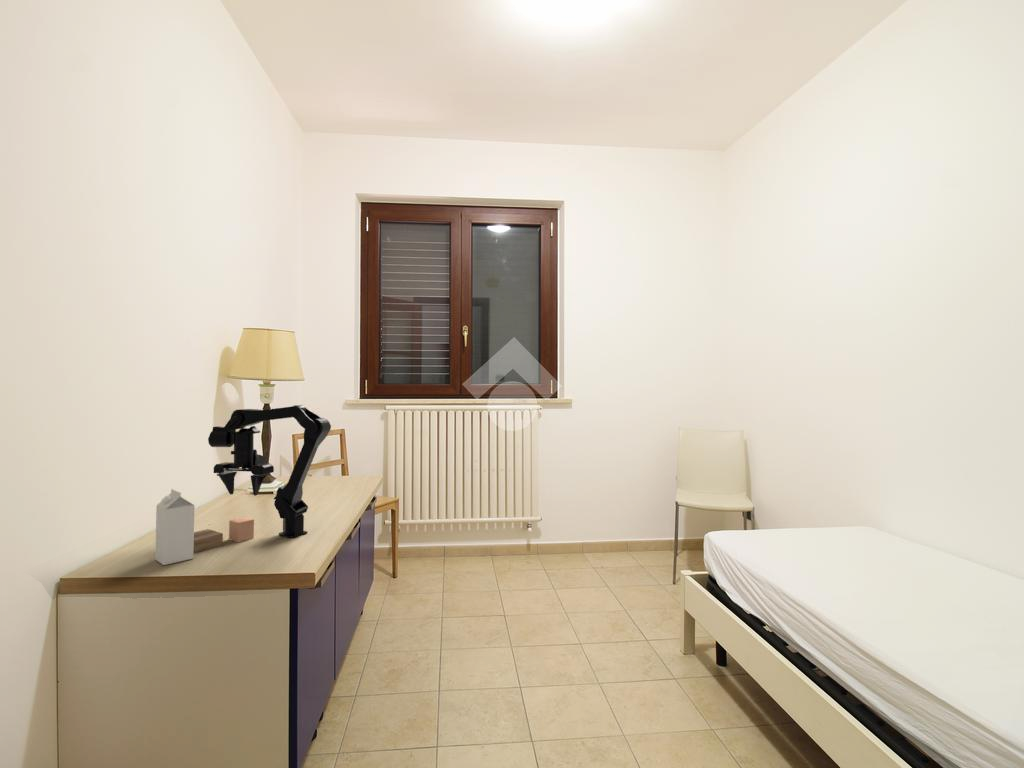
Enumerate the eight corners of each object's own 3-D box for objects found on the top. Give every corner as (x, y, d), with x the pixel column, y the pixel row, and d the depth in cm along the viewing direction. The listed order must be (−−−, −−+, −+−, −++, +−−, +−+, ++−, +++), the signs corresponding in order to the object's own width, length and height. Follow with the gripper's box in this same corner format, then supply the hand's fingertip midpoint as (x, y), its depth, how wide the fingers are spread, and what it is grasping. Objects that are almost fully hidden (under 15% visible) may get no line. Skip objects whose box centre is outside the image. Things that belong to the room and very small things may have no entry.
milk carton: (184, 553, 143) (185, 487, 143) (193, 559, 139) (195, 490, 139) (154, 559, 138) (156, 490, 138) (163, 566, 133) (165, 494, 133)
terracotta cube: (253, 538, 158) (254, 519, 158) (238, 542, 154) (238, 522, 154) (244, 535, 161) (244, 517, 161) (229, 539, 157) (229, 520, 157)
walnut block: (222, 546, 151) (222, 533, 151) (194, 553, 144) (194, 540, 144) (207, 542, 155) (208, 529, 155) (179, 549, 148) (180, 535, 148)
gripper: (284, 445, 170) (284, 491, 170) (237, 444, 174) (237, 488, 174) (261, 449, 159) (261, 498, 159) (212, 447, 163) (212, 495, 163)
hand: (243, 494), depth 164 cm, fingers open, 9 cm apart
